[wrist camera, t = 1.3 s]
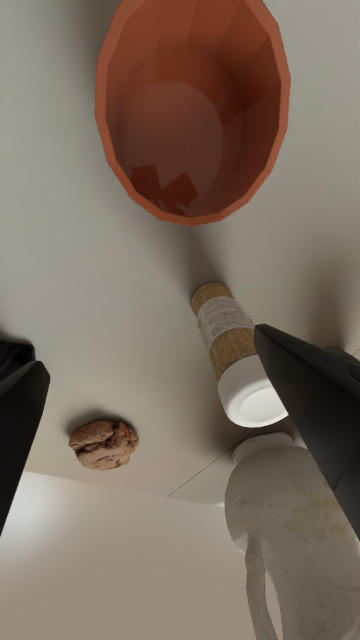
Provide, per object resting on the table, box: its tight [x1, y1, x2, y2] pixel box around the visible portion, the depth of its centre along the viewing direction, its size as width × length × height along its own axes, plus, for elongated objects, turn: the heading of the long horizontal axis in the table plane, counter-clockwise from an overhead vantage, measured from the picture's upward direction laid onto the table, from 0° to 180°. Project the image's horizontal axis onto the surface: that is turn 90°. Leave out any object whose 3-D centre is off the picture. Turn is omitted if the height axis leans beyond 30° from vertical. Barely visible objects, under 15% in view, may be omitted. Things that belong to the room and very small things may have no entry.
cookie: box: [68, 420, 139, 470], centre depth 33 cm, size 10×11×3 cm
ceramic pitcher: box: [225, 431, 360, 640], centre depth 31 cm, size 22×20×25 cm
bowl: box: [95, 0, 291, 227], centre depth 14 cm, size 10×10×6 cm
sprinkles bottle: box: [192, 283, 289, 427], centre depth 18 cm, size 5×5×14 cm
